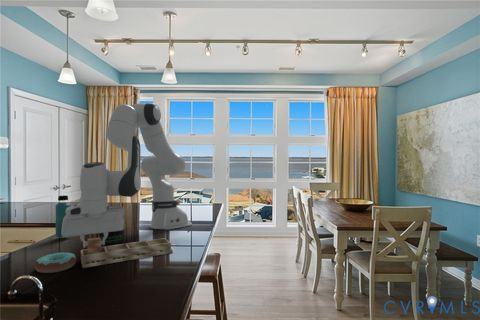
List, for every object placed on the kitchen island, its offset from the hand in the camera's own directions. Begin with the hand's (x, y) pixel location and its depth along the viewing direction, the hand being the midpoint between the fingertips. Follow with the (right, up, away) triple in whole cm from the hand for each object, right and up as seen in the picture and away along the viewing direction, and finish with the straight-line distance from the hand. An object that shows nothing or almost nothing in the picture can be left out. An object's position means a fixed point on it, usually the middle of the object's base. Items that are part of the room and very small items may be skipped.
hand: (94, 245), depth 106 cm
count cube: (0, -2, 0) cm, 2 cm away
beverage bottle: (-30, -6, +31) cm, 43 cm away
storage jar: (-3, -6, +21) cm, 22 cm away
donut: (-9, -6, -7) cm, 13 cm away
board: (+10, -5, +6) cm, 13 cm away
